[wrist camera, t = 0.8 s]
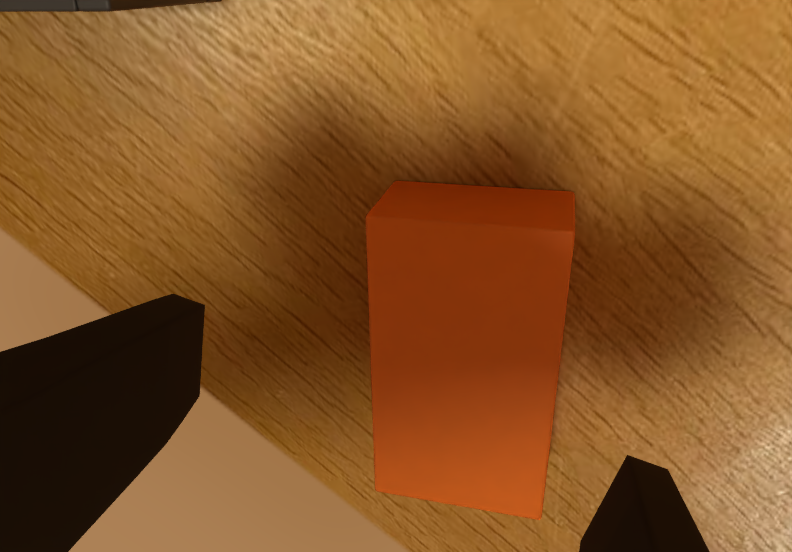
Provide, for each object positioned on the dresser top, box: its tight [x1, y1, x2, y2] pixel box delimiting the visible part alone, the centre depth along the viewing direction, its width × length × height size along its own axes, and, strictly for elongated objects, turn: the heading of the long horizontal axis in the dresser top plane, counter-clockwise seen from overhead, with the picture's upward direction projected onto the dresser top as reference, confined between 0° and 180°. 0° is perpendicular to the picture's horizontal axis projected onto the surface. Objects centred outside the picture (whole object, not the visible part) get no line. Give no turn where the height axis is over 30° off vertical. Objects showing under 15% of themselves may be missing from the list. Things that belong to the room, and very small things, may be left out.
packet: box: [366, 181, 575, 520], centre depth 18 cm, size 5×9×3 cm, turn 1°
